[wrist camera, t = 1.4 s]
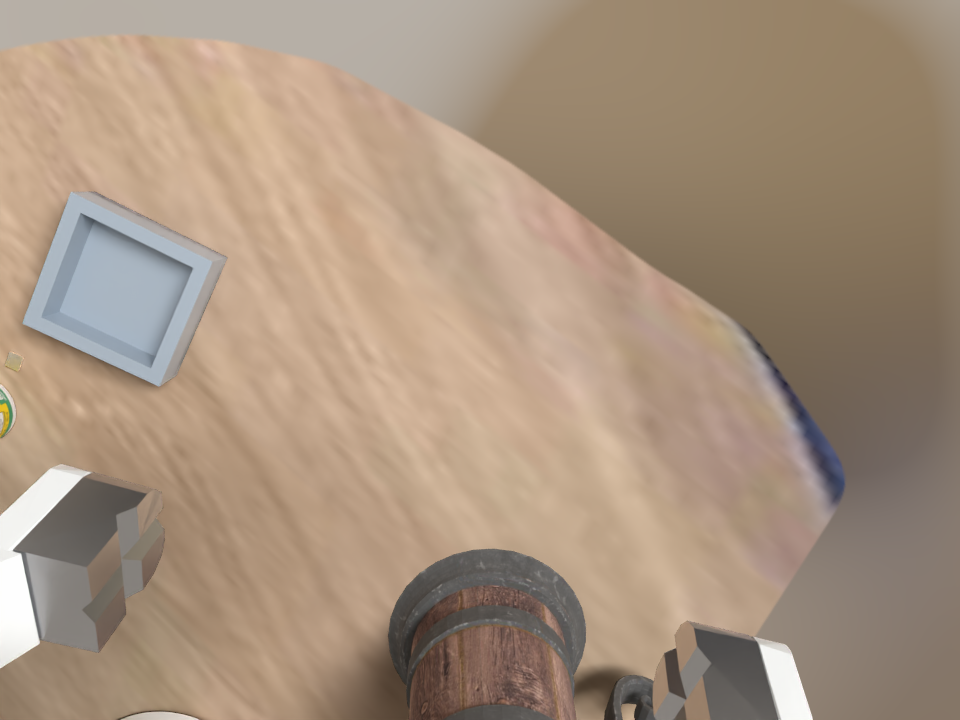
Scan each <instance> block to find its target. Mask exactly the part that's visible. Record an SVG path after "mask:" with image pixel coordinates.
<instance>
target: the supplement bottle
mask: <svg viewBox="0 0 960 720" xmlns="http://www.w3.org/2000/svg"><path fill="white" fill-rule="evenodd" d="M15 419H16V407H15V403H14V401H13V398H12V397H11V395H10V394H9V392H8V391H7V390H6V389H5V387H4V386H3V385H1V384H0V438H1V437H3V436H4V435H6V434H7V433H8V432H9V431H10V430H11V428H12V427H13V425H14V422H15Z"/></svg>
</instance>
